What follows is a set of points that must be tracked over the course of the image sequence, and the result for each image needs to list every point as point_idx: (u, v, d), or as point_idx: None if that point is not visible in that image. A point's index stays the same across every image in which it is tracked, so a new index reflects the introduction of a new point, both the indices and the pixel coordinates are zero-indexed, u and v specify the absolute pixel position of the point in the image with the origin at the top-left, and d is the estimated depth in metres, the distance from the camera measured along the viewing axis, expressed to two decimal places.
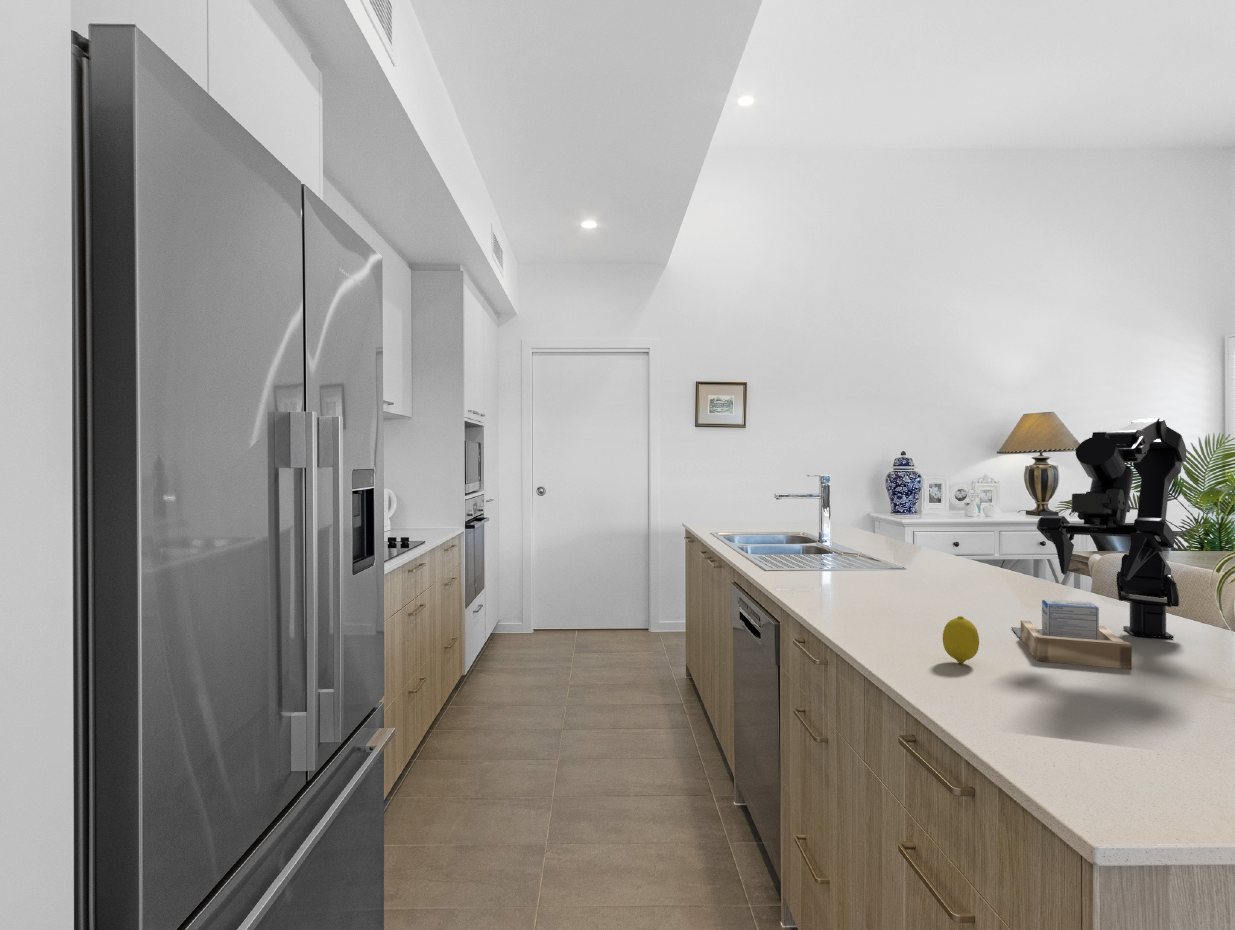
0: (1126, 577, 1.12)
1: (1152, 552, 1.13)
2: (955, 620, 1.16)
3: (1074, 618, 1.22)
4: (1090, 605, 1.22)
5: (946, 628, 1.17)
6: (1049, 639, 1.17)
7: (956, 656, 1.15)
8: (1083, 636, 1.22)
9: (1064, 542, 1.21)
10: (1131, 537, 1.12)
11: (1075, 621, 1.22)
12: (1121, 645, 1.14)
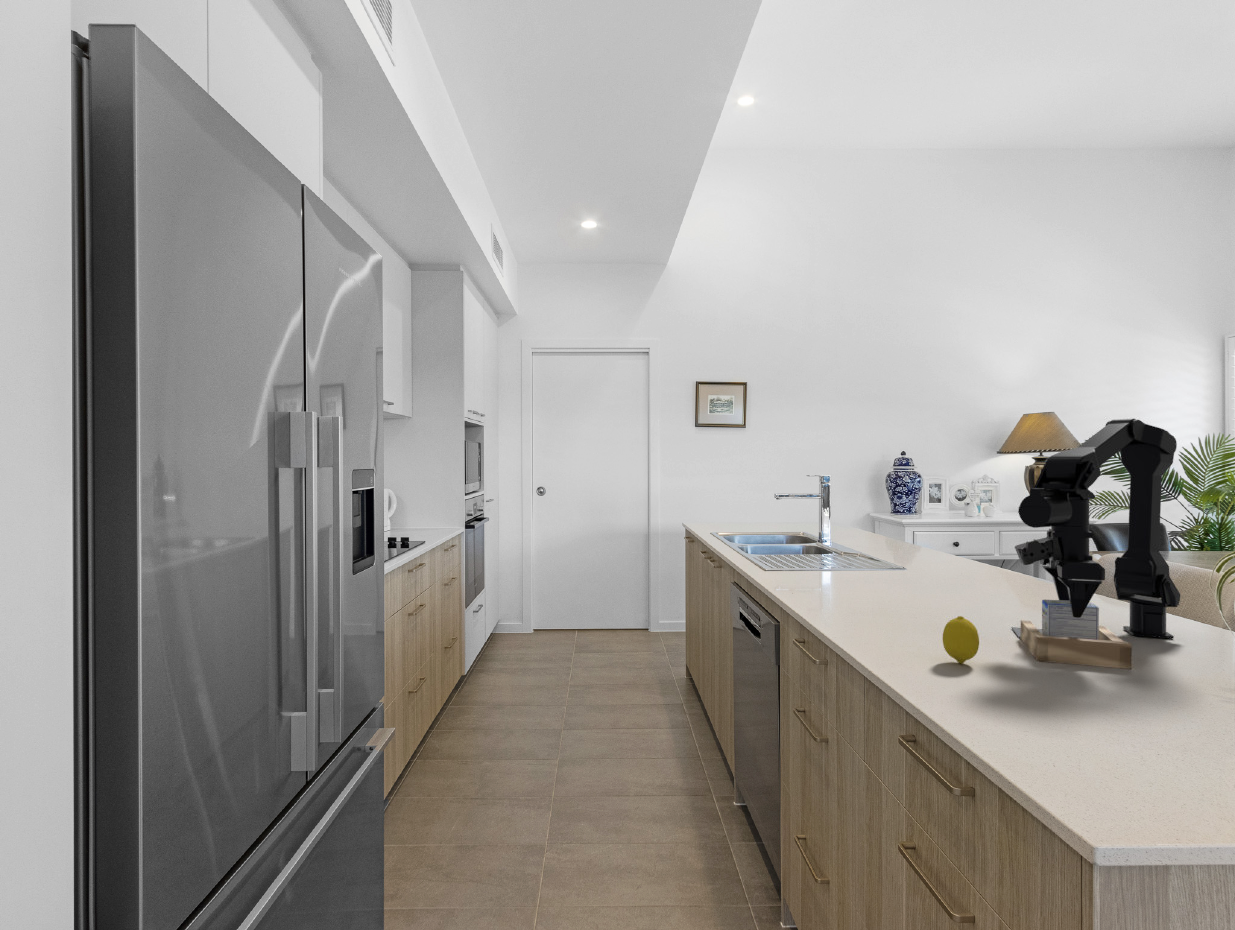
0: (1074, 616, 1.20)
1: (1096, 585, 1.17)
2: (955, 620, 1.16)
3: (1074, 618, 1.22)
4: (1090, 605, 1.22)
5: (946, 628, 1.17)
6: (1049, 639, 1.17)
7: (956, 656, 1.15)
8: (1083, 636, 1.22)
9: (1056, 576, 1.29)
10: (1060, 580, 1.20)
11: (1075, 621, 1.22)
12: (1121, 645, 1.14)
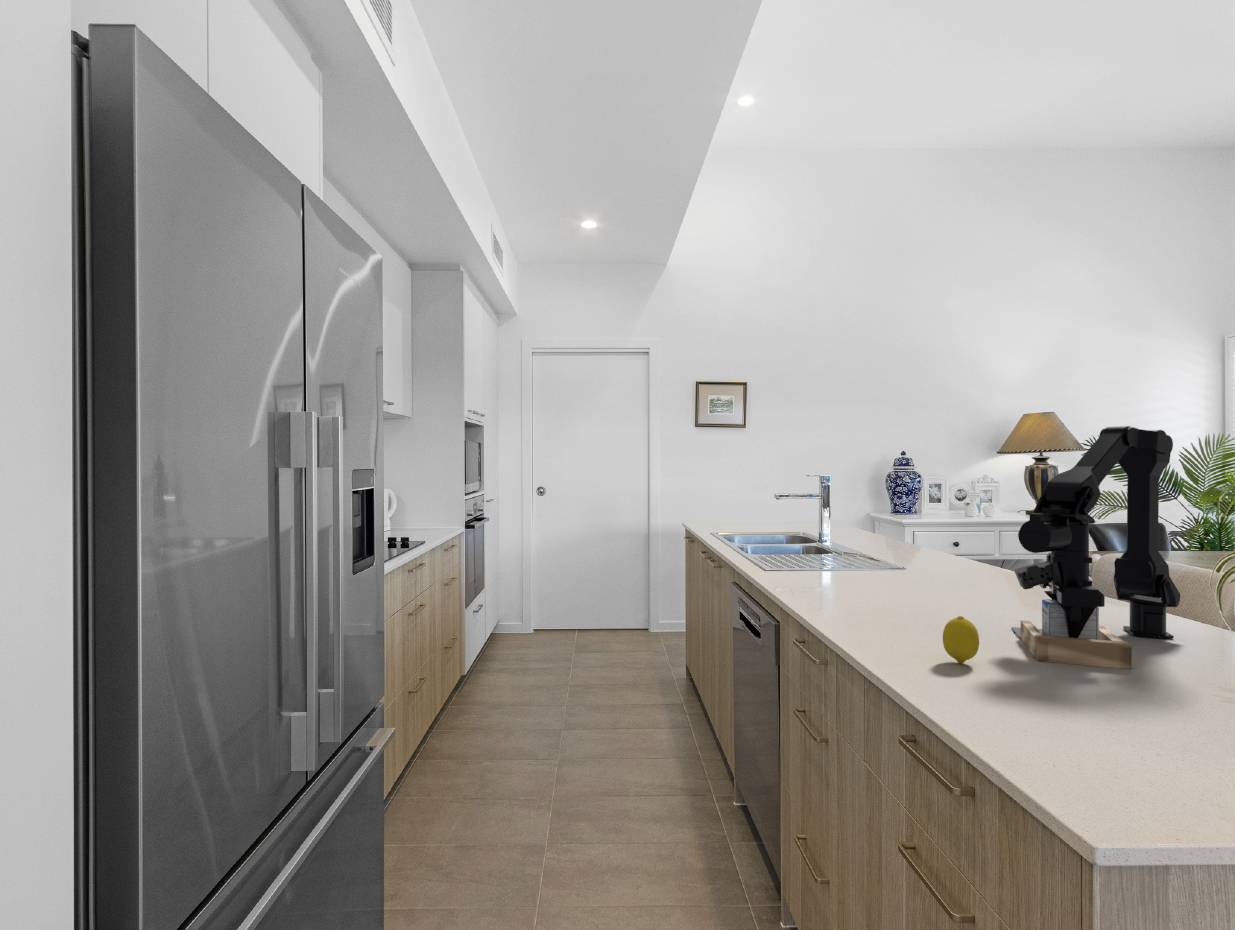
0: None
1: (1092, 608, 1.19)
2: (955, 620, 1.16)
3: None
4: None
5: (946, 628, 1.17)
6: (1049, 639, 1.17)
7: (956, 656, 1.15)
8: (1083, 636, 1.22)
9: None
10: None
11: None
12: (1121, 645, 1.14)
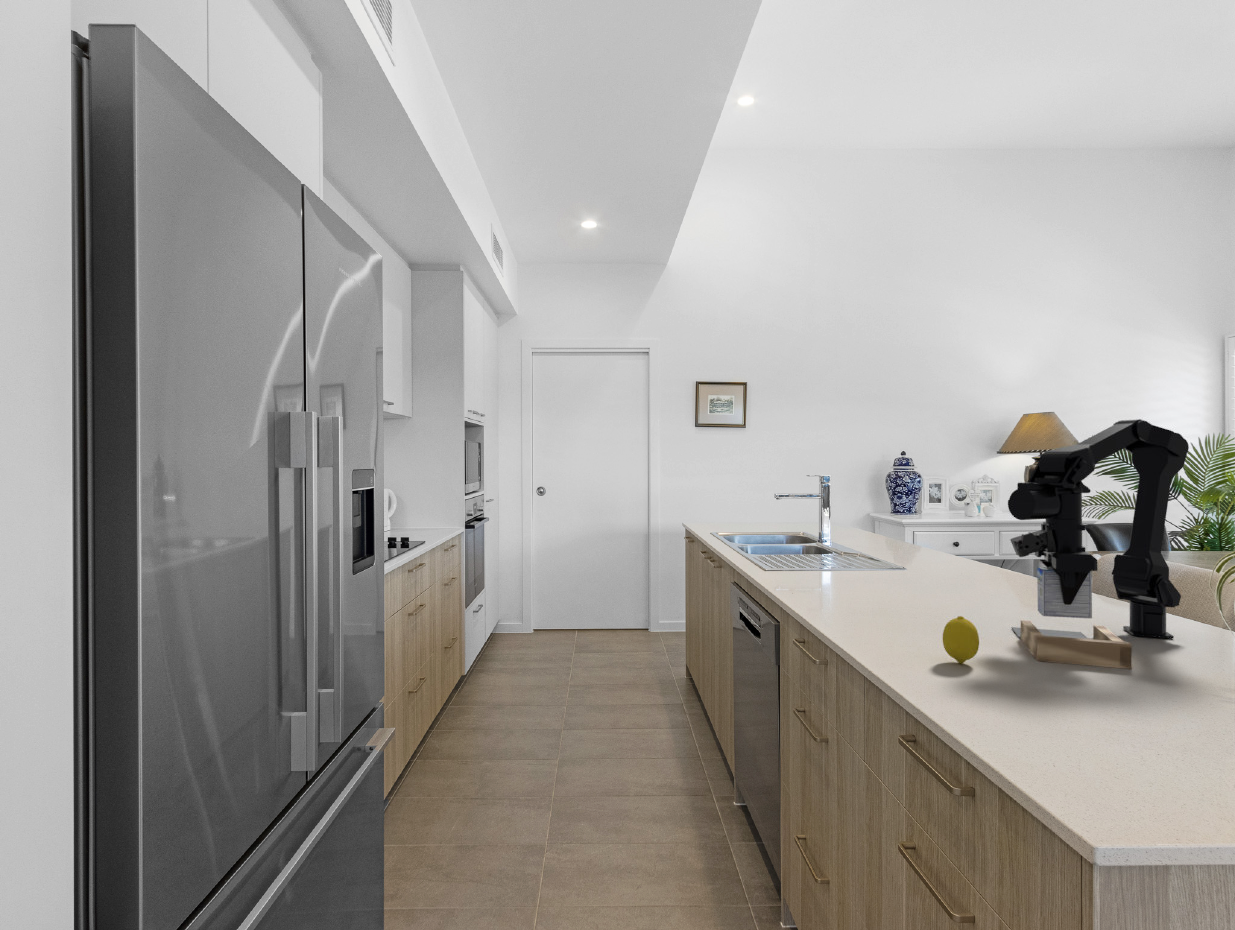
0: (1065, 603, 1.27)
1: (1085, 573, 1.24)
2: (955, 620, 1.16)
3: None
4: None
5: (946, 628, 1.17)
6: (1049, 639, 1.17)
7: (956, 656, 1.15)
8: (1077, 601, 1.26)
9: None
10: None
11: None
12: (1121, 645, 1.14)
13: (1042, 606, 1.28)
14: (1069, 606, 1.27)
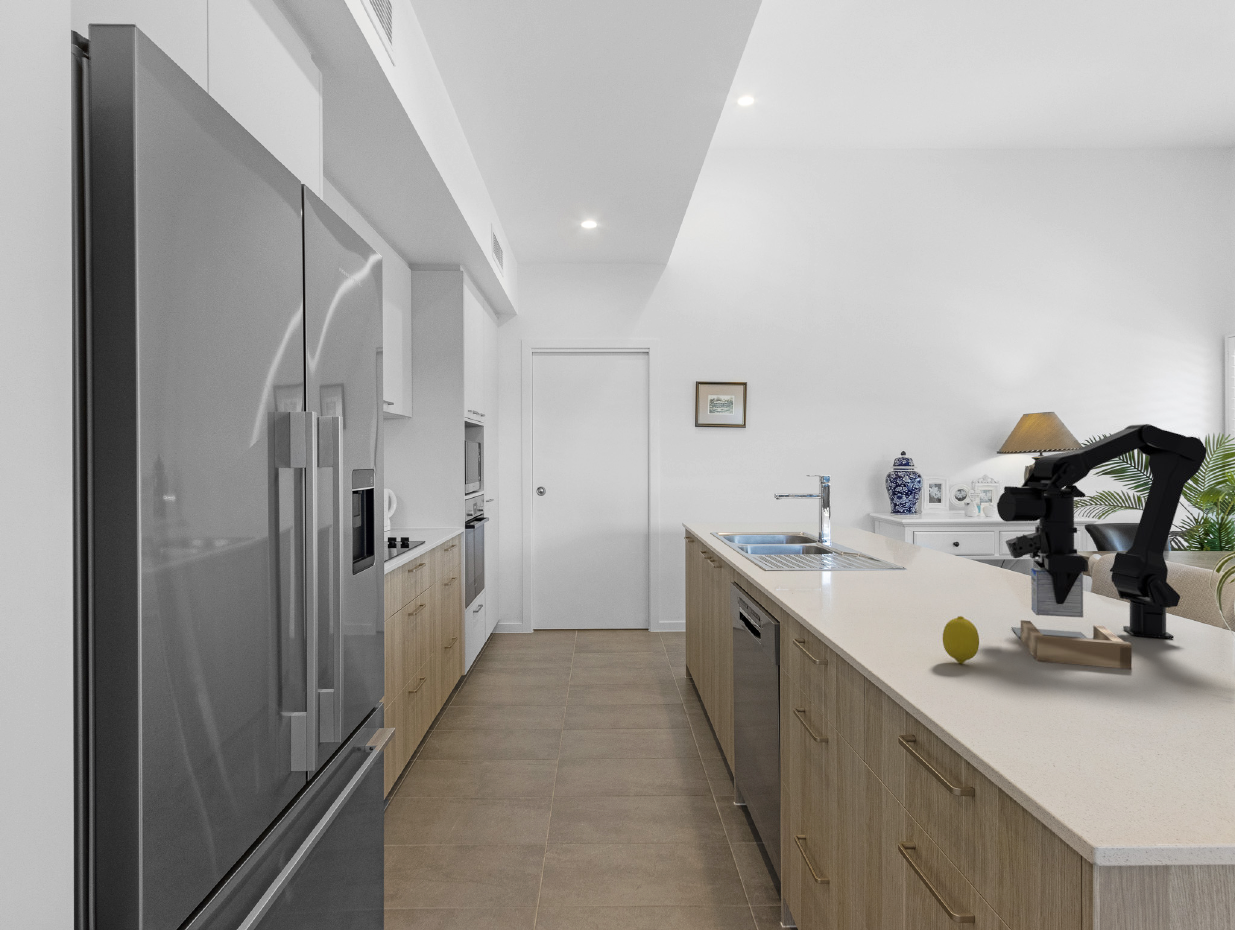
0: (1057, 603, 1.32)
1: (1076, 574, 1.29)
2: (955, 620, 1.16)
3: None
4: None
5: (946, 628, 1.17)
6: (1049, 639, 1.17)
7: (956, 656, 1.15)
8: (1069, 600, 1.31)
9: None
10: None
11: None
12: (1121, 645, 1.14)
13: (1035, 605, 1.34)
14: (1061, 606, 1.32)
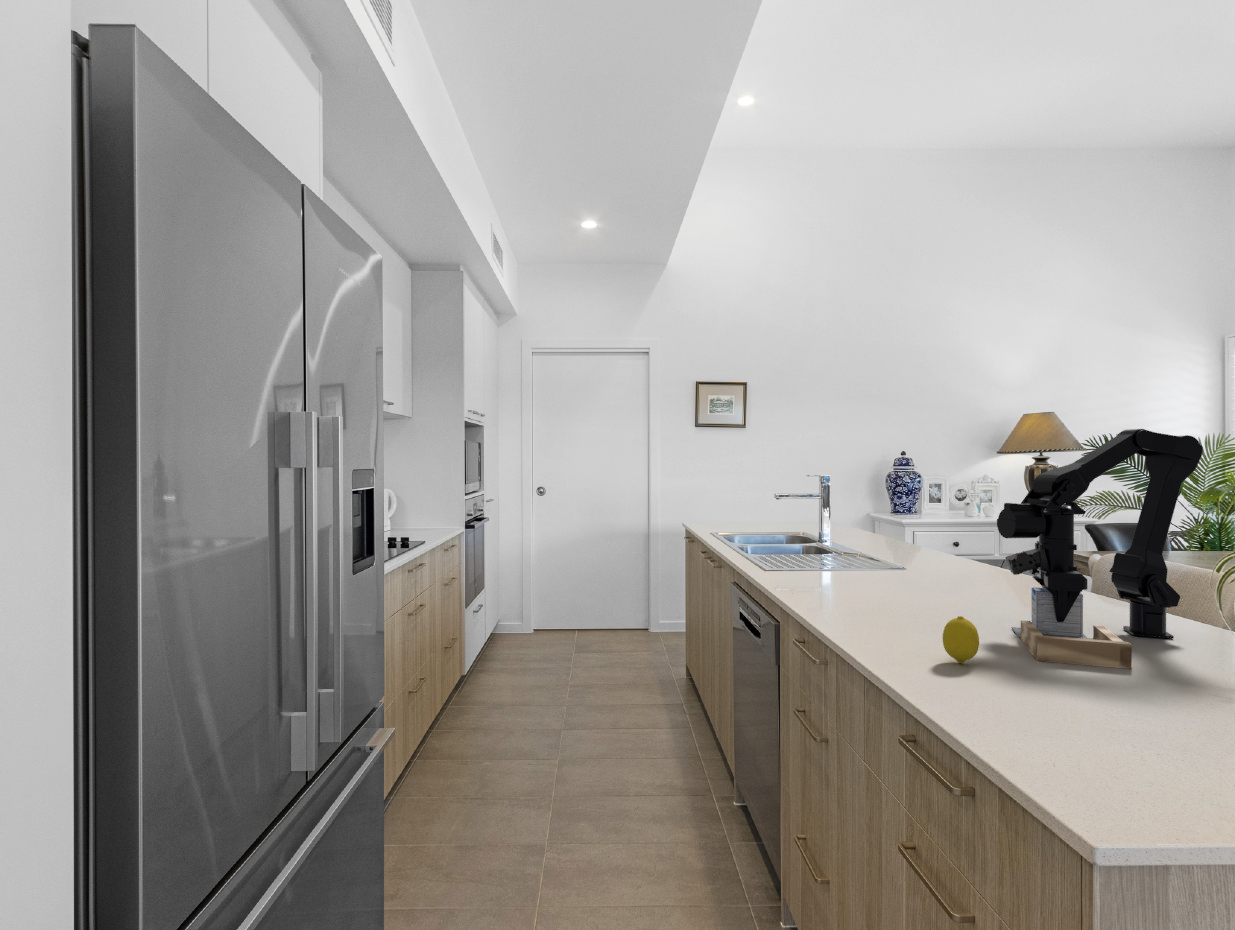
0: (1057, 621, 1.31)
1: (1077, 592, 1.28)
2: (955, 620, 1.16)
3: None
4: None
5: (946, 628, 1.17)
6: (1049, 639, 1.17)
7: (956, 656, 1.15)
8: (1068, 621, 1.31)
9: None
10: None
11: None
12: (1121, 645, 1.14)
13: (1035, 625, 1.34)
14: (1060, 626, 1.32)
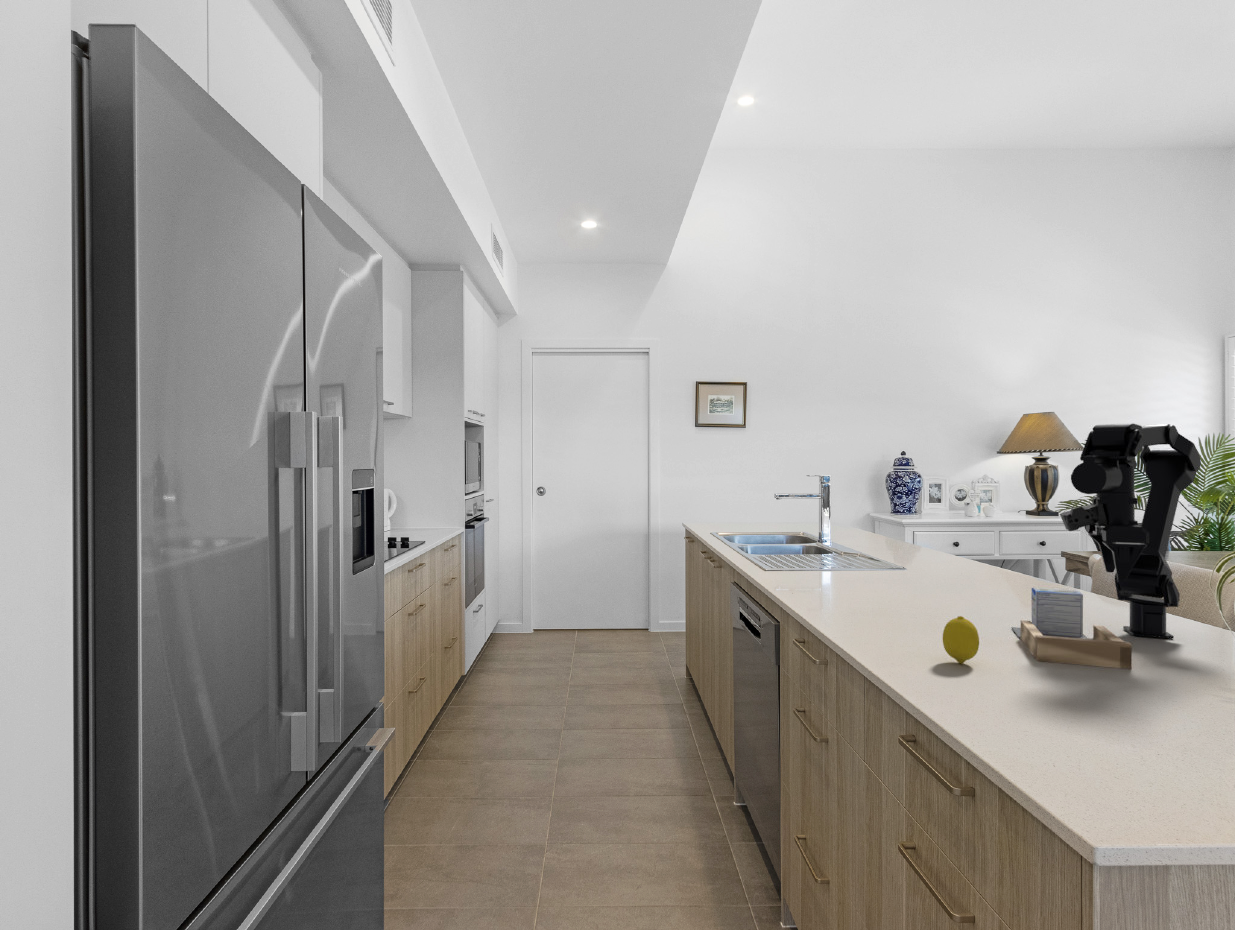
0: (1119, 579, 1.24)
1: (1140, 548, 1.21)
2: (955, 620, 1.16)
3: (1060, 604, 1.32)
4: (1075, 592, 1.32)
5: (946, 628, 1.17)
6: (1049, 639, 1.17)
7: (956, 656, 1.15)
8: (1068, 621, 1.31)
9: (1102, 543, 1.33)
10: None
11: (1061, 607, 1.32)
12: (1121, 645, 1.14)
13: (1035, 625, 1.34)
14: (1060, 626, 1.32)
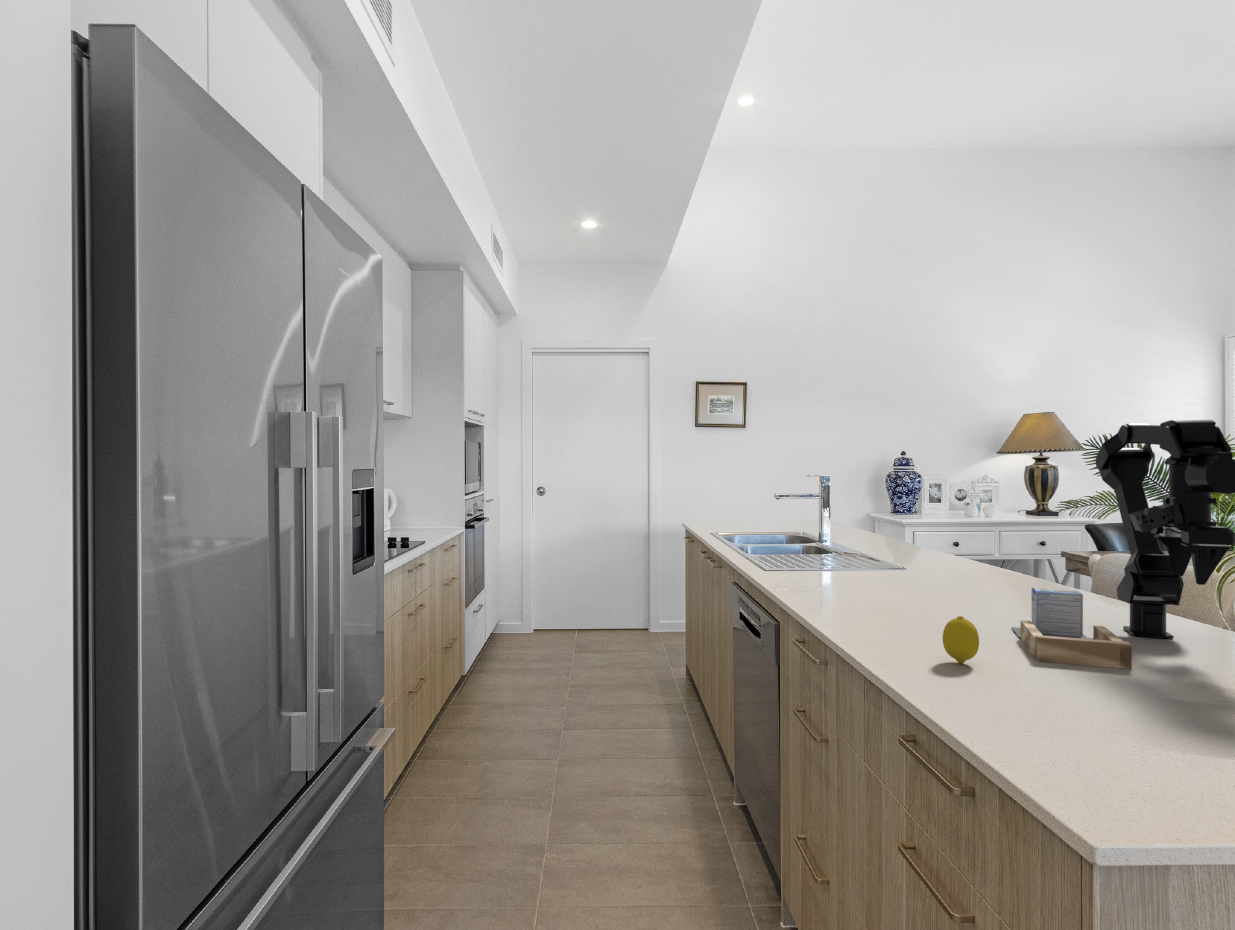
0: (1198, 583, 1.17)
1: (1223, 551, 1.14)
2: (955, 620, 1.16)
3: (1060, 604, 1.32)
4: (1075, 592, 1.32)
5: (946, 628, 1.17)
6: (1049, 639, 1.17)
7: (956, 656, 1.15)
8: (1068, 621, 1.31)
9: (1170, 545, 1.27)
10: (1184, 547, 1.18)
11: (1061, 607, 1.32)
12: (1121, 645, 1.14)
13: (1035, 625, 1.34)
14: (1060, 626, 1.32)
